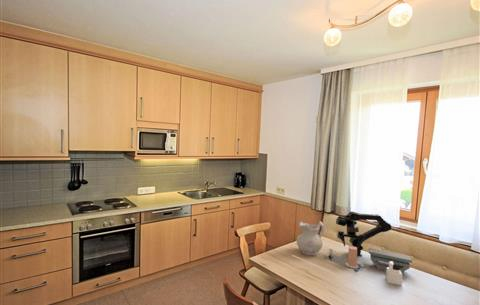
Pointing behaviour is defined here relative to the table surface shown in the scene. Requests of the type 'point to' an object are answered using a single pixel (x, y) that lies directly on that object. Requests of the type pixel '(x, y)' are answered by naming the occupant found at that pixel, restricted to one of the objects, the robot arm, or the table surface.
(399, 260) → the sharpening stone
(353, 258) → the post
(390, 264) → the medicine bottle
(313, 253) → the ceramic pitcher
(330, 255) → the steel pin
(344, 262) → the drilled plate
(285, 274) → the table surface
